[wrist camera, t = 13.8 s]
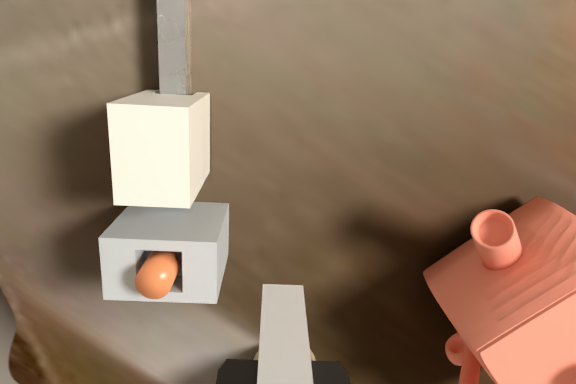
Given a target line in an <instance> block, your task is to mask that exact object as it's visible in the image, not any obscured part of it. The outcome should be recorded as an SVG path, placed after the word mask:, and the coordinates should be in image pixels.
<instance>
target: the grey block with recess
mask: <svg viewBox="0 0 576 384" xmlns="http://www.w3.org/2000/svg"><path fill="white" fill-rule="evenodd" d="M98 239H99V251H100V263H101V275H102V287H103V299H104V300H125V301H153V302H182V303H210V304H217V300H218V296H219V292H220V287H221V283H222V279H223V275H224V270H225V266H226V262H227V258H228V240H229V203H210V202H193V204H192V205H191V207H190V208H167V207H144V206H128V207H127V208H126V209H125V210H124V211H123V212H122V213H121V214H120V215H119V216H118V217H117V218H116V219H115V220H114V222H113V223H112V224H111V225H110V226H109V227H108V228H107V229H106V230H105V231H104V232H103V233H102V234H101V235H100V237H99V238H98ZM151 251H175V252H177V253H178V254H179V255H180V258H181V266H180V269H179V271H178V273H177V276H176V278H175V280H174V282H173V285H172V287H171V289H170V291H169V293H168V294H167V295H166V296H164V297H162V298H160V299H149V298H146V297H144V296H143V295H141V294H140V293H139V292H138V290H137V289H136V286H135V278H136V275H137V274H138V272H139V270H140V269H141V267H142V265H143V264H144V262H145V261H146V259H147V257H148V256H149V254H150V253H151Z"/></svg>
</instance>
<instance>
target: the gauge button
mask: <svg viewBox="0 0 576 384" xmlns="http://www.w3.org/2000/svg"><path fill="white" fill-rule="evenodd" d="M180 266H181V258H180V255H179V254H178V253H177V252H175V251H151V253H150V254H149V256H148V257H147V259H146V261H145V262H144V264H143V265H142V267H141V269H140V270H139V272H138V274H137V275H136V278H135V286H136V289H137V290H138V292H139V293H140V294H141V295H143V296H144V297H146V298H149V299H160V298H162V297H164V296H166V295H167V294H168V293H169V291H170V289H171V287H172V285H173V282H174V280H175V278H176V276H177V273H178V271H179V269H180Z"/></svg>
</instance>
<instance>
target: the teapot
mask: <svg viewBox="0 0 576 384" xmlns="http://www.w3.org/2000/svg"><path fill="white" fill-rule="evenodd" d="M470 232H471V235H472V238H471V239H470V240H468V241H467V242H465V243H464V244H462V245H461V246H459V247H458V248H456V249H455V250H453V251H452V252H450V253H449V254H447V255H446V256H444V257H443V258H441V259H440V260H438V261H437V262H435V263H434V264H433V265H431V266H430V267H428V268H427V269H426V270H424V271H423V275H424V278H425V280H426V283H427V285H428V287H429V289H430V290H431V292H432V294H433V296H434V297H435V299H436V300H437V302H438V303H439V305H440V306H441V308H442V310H443V311H444V313H445V314H446V316H447V317H448V319H449V320H450V322H451V323H452V324H453V326H454V327H455V329H456V330H457V332H458V333H456V334H454V335H452V336H451V337H450V338H449V339H448V340H447V342H446V345H445V351H446V355H447V357H448V359H449V360H450V361H451V362H452V363H453V364H454V365H457V366H462V367H461V372H460V379H459V384H478V381H479V375H480V369H481V366H482V367H483V368H484V370H485V371H486V372H487V374H488V375H489V376H490V378H491V379H492V380H493V382H494V383H495V384H576V216H575V215H574V214H572V213H570V212H569V211H567V210H566V209H564V208H562V207H560V206H559V205H557V204H555V203H553V202H551V201H549V200H546V199H544V198H541V197H535V198H533V199H532V200H530V201H528V202H527V203H525V204H524V205H522V206H520V207H519V208H517V209H516V210H514V211H513V212H511V213H509V214H507V213H505V212H503V211H501V210H496V209H489V210H485V211H482V212H480V213H478V214H477V215H476V216H475V217H474V218H473V220H472V222H471V225H470Z"/></svg>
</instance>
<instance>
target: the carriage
mask: <svg viewBox="0 0 576 384" xmlns="http://www.w3.org/2000/svg"><path fill="white" fill-rule="evenodd" d="M107 116H108V130H109V144H110V159H111V173H112V187H113V201H114V205H121V206H144V207H167V208H190V207H191V205H192V204H193V202H194V200H195V198H196V196H197V194H198V192H199V191H200V189H201V187H202V185H203V183H204V181H205V179H206V178H207V176H208V174H209V172H210V93H204V92H197V93H195V94H193V95H175V94H160V90H145V91H142V92H139V93H136V94H133V95H130V96H127V97H124V98H121V99H118V100H115V101H112V102H109V103H107Z"/></svg>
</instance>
